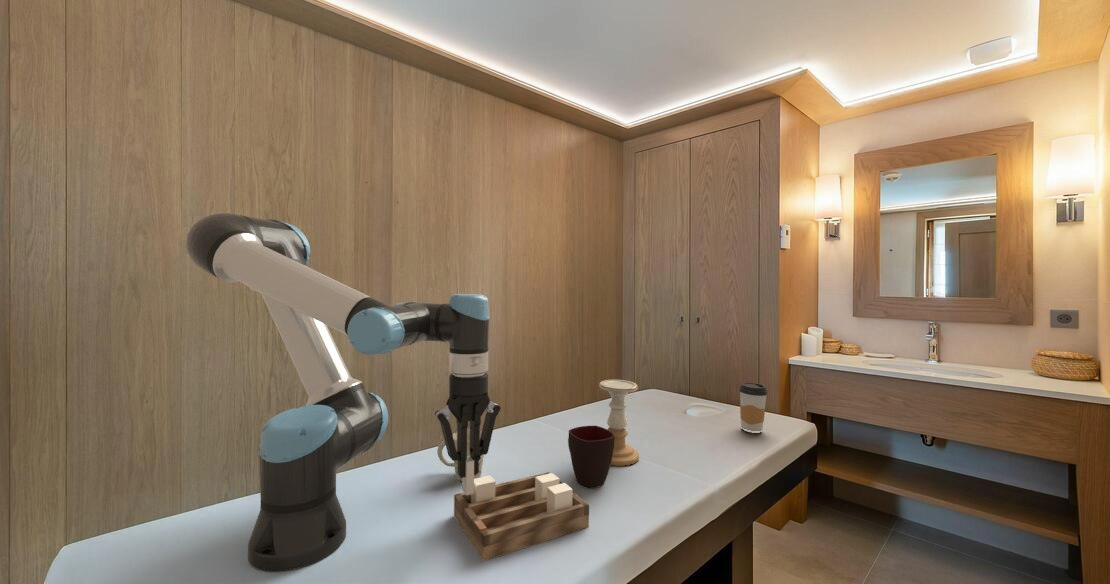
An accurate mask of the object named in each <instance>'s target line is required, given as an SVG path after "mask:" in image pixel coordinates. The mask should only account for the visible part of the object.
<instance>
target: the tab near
mask: <svg viewBox="0 0 1110 584" xmlns="http://www.w3.org/2000/svg"><path fill="white" fill-rule="evenodd" d="M573 492H574V491H573V488H572V487H571V486H570V485H568V484H567V483H565V482H562V484H558V485H554V486H550V487H547V513H552V512H555V511H558V510H562V509H565V508H569V507H572V496H573Z"/></svg>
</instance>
